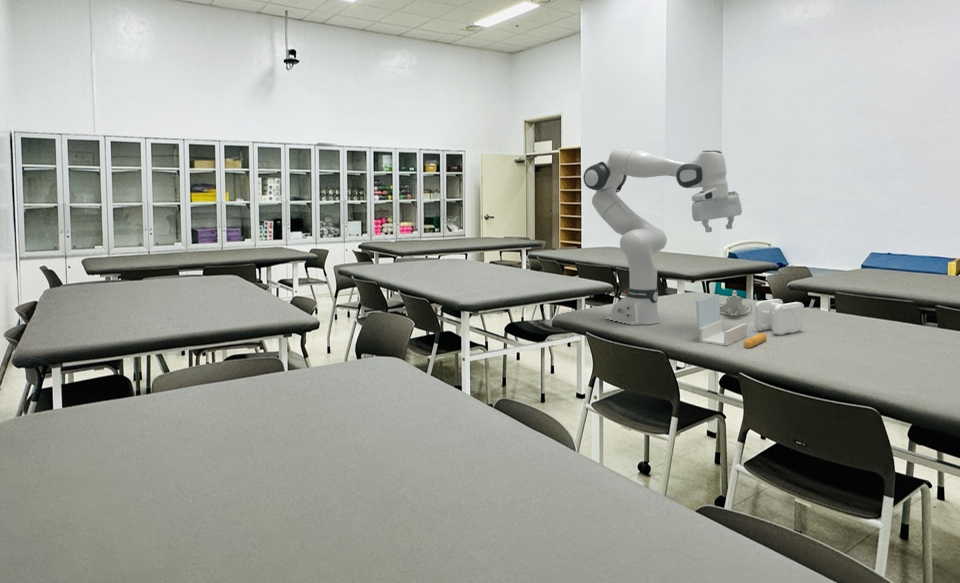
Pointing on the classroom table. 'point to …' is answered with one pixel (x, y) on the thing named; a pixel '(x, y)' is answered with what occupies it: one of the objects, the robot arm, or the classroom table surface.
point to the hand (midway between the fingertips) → (719, 230)
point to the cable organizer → (779, 316)
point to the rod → (755, 340)
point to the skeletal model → (734, 305)
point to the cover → (708, 311)
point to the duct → (722, 333)
